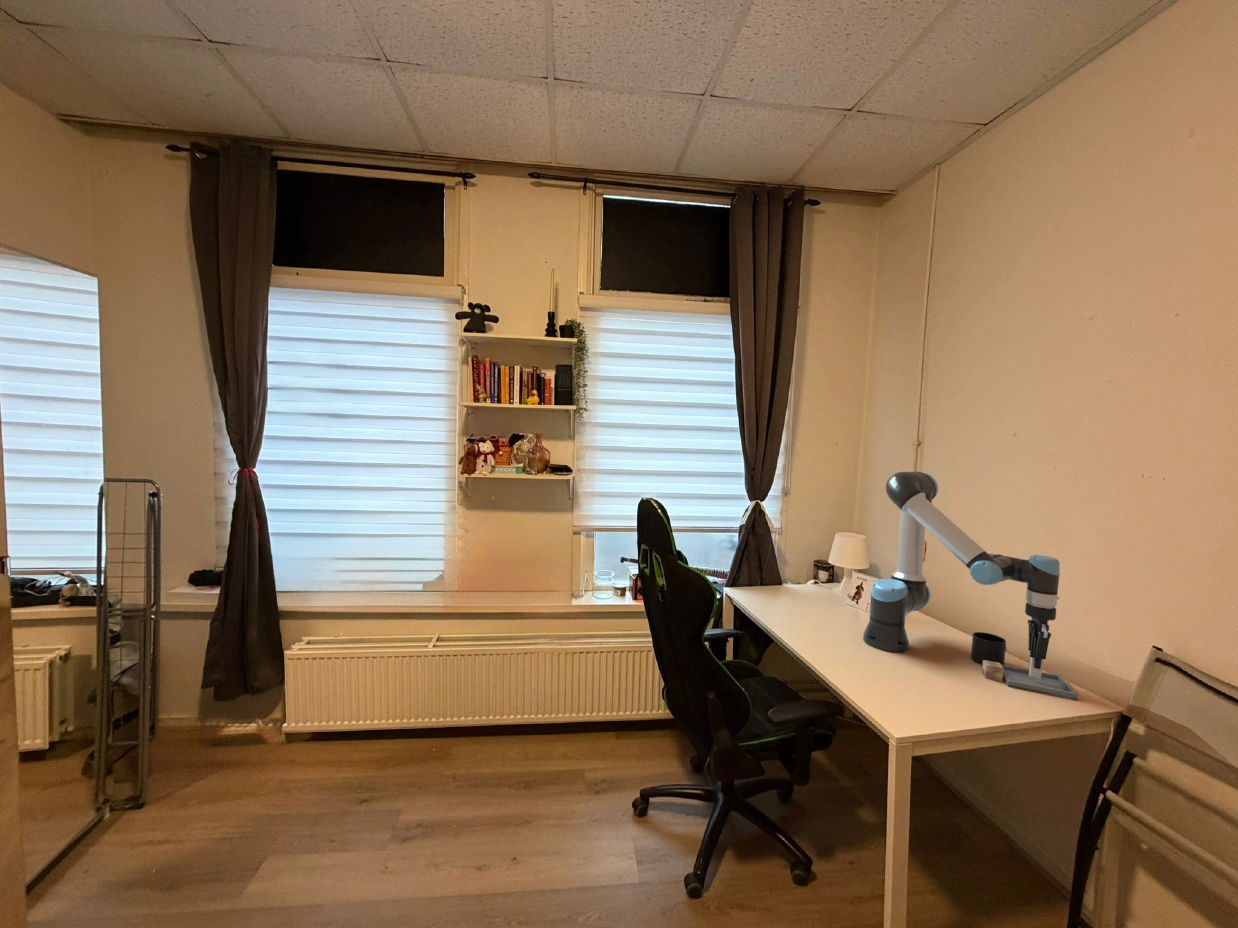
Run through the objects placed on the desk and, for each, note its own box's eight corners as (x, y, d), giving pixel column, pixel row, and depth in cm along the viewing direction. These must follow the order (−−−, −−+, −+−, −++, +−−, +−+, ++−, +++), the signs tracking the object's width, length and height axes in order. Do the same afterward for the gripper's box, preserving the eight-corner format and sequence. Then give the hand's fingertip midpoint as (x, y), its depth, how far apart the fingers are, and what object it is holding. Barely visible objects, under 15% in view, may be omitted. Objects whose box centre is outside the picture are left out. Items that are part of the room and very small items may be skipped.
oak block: (985, 678, 164) (986, 664, 163) (982, 672, 168) (983, 659, 167) (1002, 681, 162) (1003, 668, 161) (998, 676, 166) (999, 662, 166)
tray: (1007, 686, 158) (1008, 680, 158) (996, 668, 171) (996, 663, 171) (1077, 700, 151) (1077, 694, 151) (1059, 680, 164) (1060, 675, 164)
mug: (1017, 667, 173) (1019, 641, 172) (987, 668, 171) (989, 642, 170) (992, 655, 182) (994, 631, 182) (964, 656, 180) (966, 632, 180)
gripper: (1063, 612, 152) (1057, 688, 154) (1048, 601, 164) (1042, 671, 165) (1032, 608, 156) (1026, 682, 157) (1020, 597, 167) (1014, 666, 169)
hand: (1034, 676), depth 161 cm, fingers closed
